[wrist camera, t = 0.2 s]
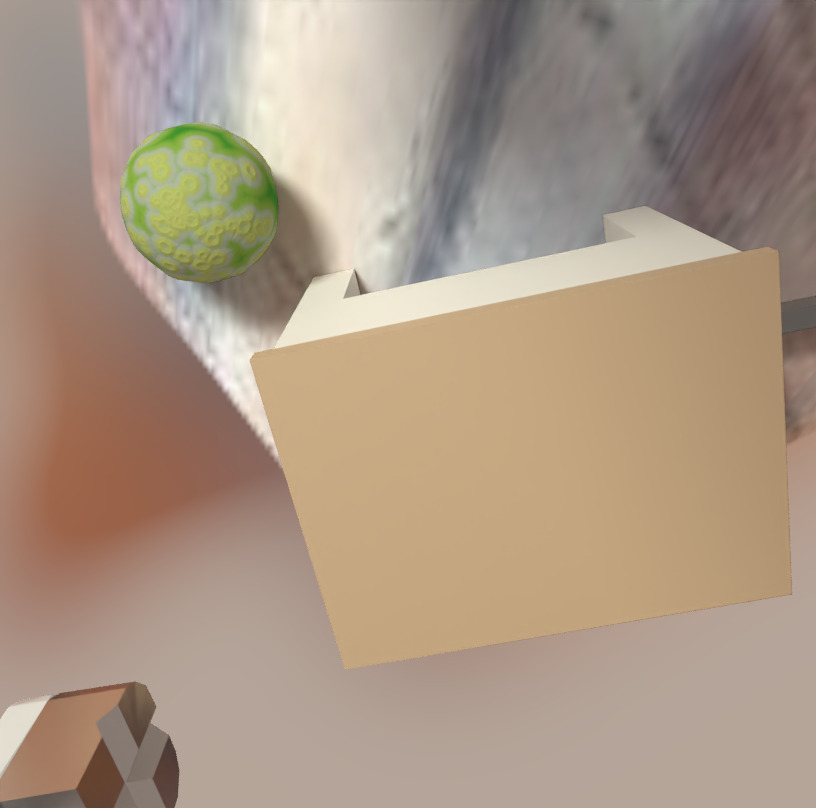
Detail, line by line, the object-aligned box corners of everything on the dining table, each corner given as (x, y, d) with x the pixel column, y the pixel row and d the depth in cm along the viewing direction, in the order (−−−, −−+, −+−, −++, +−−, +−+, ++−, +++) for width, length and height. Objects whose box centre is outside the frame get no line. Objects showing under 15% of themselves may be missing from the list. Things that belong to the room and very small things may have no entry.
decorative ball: (317, 218, 54) (297, 243, 45) (205, 290, 56) (163, 328, 47) (235, 90, 51) (195, 88, 42) (119, 170, 53) (56, 186, 44)
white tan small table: (305, 271, 56) (249, 360, 37) (651, 196, 54) (778, 251, 35) (366, 498, 63) (344, 669, 44) (675, 439, 60) (791, 594, 42)
